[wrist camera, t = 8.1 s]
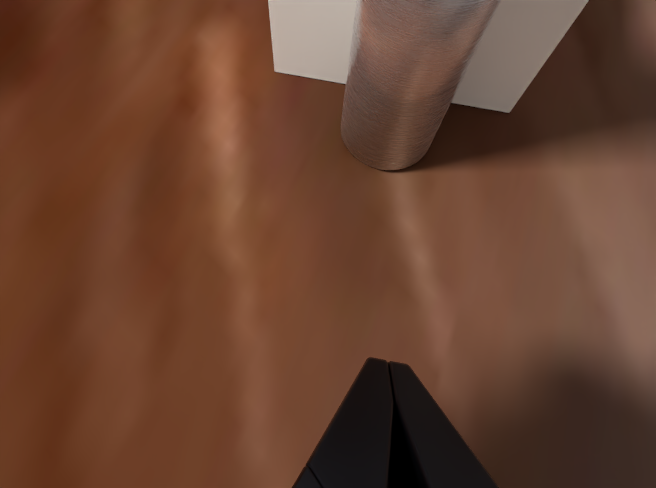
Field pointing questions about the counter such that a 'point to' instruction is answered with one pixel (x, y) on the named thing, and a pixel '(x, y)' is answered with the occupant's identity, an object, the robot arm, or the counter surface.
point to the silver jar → (406, 74)
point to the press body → (483, 72)
